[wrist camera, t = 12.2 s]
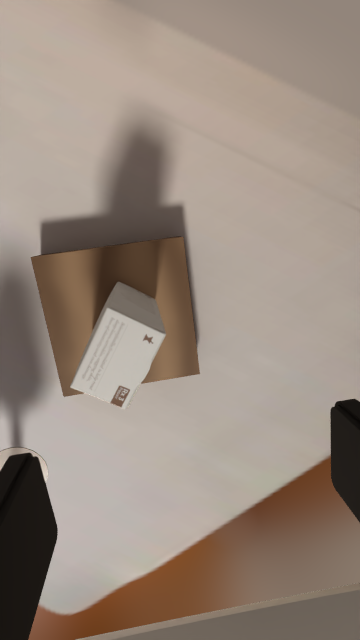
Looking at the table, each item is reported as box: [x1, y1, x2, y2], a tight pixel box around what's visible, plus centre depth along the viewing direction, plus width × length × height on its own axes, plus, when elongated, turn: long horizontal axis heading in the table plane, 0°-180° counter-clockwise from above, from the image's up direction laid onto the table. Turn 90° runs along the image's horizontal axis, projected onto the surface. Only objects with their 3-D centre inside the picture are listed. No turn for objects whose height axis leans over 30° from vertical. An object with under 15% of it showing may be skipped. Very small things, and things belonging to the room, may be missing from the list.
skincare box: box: [70, 282, 166, 409], centre depth 27 cm, size 6×4×12 cm
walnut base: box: [31, 237, 200, 397], centre depth 35 cm, size 14×14×4 cm
